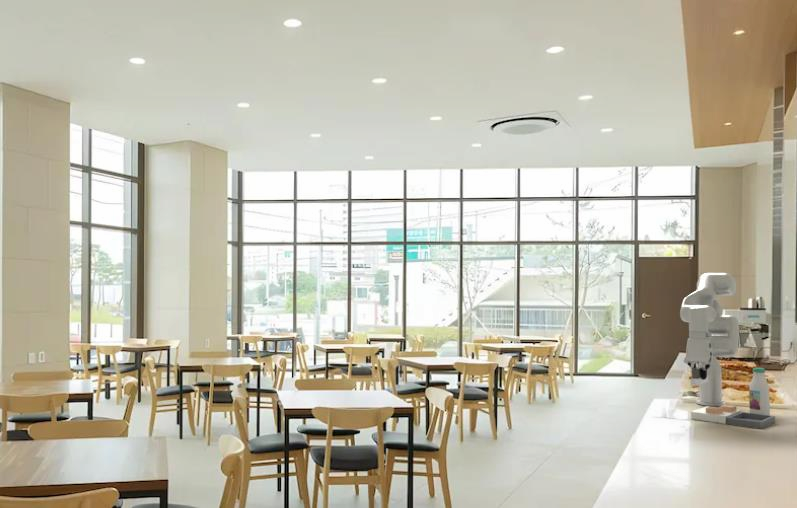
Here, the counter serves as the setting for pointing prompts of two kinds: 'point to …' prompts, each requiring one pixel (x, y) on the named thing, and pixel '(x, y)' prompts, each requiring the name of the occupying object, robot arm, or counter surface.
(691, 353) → the robot arm
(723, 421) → the offwhite board
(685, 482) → the counter surface
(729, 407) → the tile
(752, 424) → the tray
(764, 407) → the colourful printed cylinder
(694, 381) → the dark block with bar
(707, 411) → the tile
